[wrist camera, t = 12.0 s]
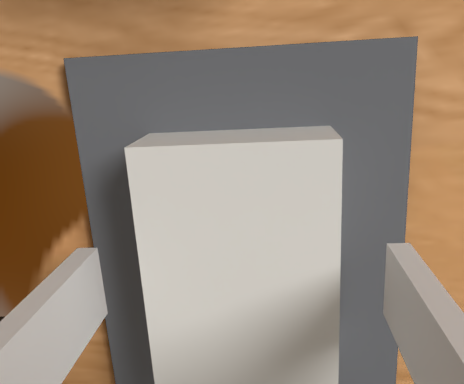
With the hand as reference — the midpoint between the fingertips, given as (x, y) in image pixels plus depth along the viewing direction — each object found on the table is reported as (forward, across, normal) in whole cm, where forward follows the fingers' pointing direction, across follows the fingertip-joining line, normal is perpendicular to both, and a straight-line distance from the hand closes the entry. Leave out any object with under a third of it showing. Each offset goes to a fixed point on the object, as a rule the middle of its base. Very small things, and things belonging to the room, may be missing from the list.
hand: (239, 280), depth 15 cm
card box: (+3, 0, 0) cm, 3 cm away
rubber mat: (+3, 0, 0) cm, 3 cm away
